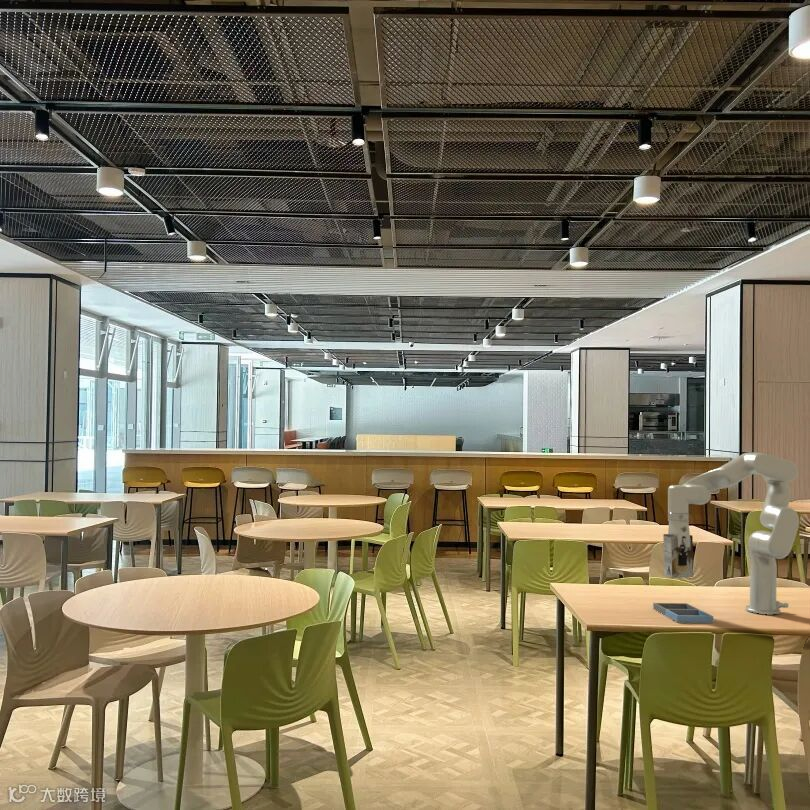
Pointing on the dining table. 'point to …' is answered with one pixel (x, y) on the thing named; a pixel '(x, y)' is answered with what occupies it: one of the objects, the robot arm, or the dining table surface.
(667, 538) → the coffee box
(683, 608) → the bay tray
